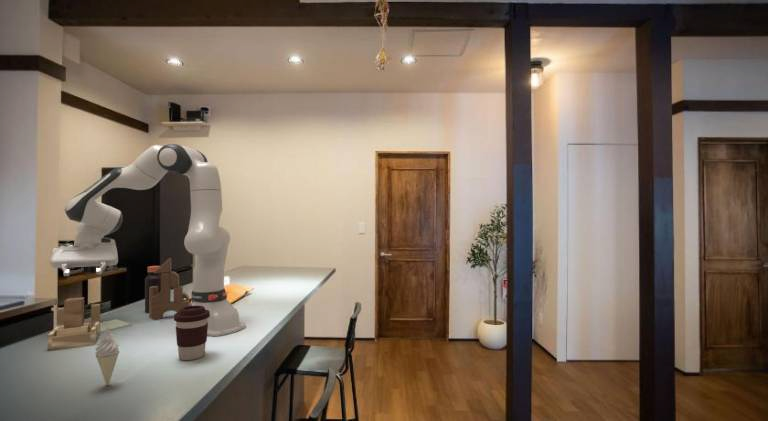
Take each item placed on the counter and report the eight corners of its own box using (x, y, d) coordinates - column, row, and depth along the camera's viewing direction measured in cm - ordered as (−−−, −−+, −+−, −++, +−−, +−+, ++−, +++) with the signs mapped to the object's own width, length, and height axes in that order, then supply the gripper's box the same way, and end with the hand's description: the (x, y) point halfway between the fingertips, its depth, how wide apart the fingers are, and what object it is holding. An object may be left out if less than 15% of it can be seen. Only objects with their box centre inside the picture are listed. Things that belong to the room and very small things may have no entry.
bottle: (141, 312, 169) (141, 267, 169) (152, 309, 175) (153, 265, 175) (154, 313, 168) (154, 267, 168) (166, 309, 174) (166, 265, 174)
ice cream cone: (103, 381, 101) (103, 324, 101) (123, 380, 101) (123, 323, 101) (90, 390, 96) (90, 330, 96) (111, 389, 96) (112, 329, 96)
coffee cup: (173, 365, 112) (173, 313, 112) (174, 353, 120) (174, 306, 120) (210, 359, 116) (210, 309, 116) (208, 348, 125) (208, 302, 125)
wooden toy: (190, 312, 169) (190, 256, 169) (188, 316, 163) (188, 257, 163) (150, 316, 164) (150, 257, 164) (146, 320, 157) (146, 259, 158)
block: (67, 325, 130) (67, 298, 130) (83, 323, 132) (84, 297, 132) (64, 328, 126) (64, 301, 126) (81, 326, 128) (81, 300, 128)
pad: (131, 325, 150) (131, 323, 150) (95, 333, 140) (95, 332, 140) (116, 320, 157) (116, 319, 157) (81, 328, 146) (81, 326, 146)
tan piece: (57, 339, 133) (57, 308, 133) (100, 334, 139) (100, 304, 139) (47, 350, 123) (47, 316, 123) (94, 344, 128) (94, 311, 128)
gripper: (52, 240, 142) (44, 270, 133) (119, 239, 152) (115, 267, 143) (55, 251, 146) (47, 281, 137) (120, 249, 156) (116, 277, 147)
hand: (82, 274), depth 140 cm, fingers open, 8 cm apart
